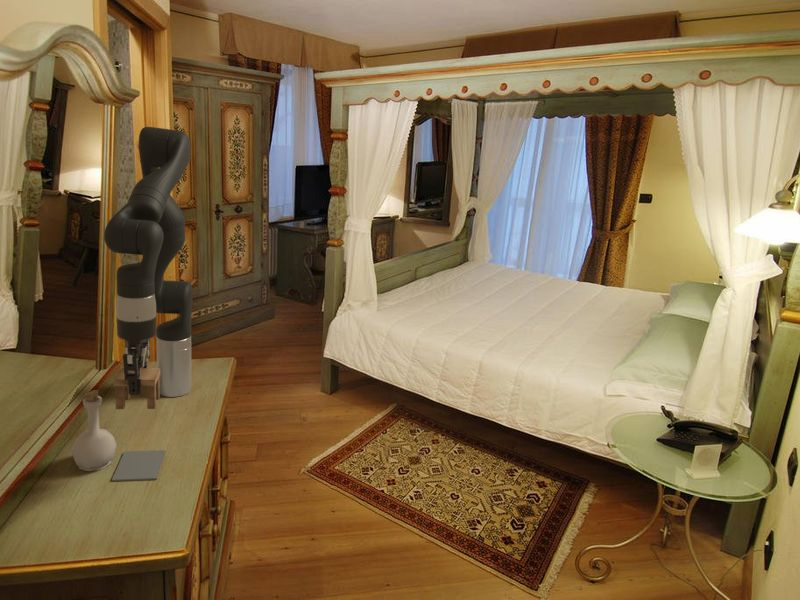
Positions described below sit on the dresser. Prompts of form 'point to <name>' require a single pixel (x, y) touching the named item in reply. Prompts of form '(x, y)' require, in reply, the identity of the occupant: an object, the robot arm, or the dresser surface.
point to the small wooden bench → (148, 378)
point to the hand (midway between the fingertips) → (138, 387)
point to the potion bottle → (93, 439)
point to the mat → (139, 465)
